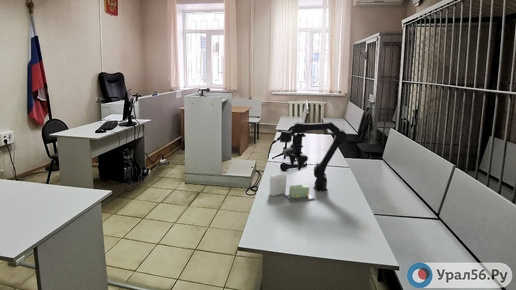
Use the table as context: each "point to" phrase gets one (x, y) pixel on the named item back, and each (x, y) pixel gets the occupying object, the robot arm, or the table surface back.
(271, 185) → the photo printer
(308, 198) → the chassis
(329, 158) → the robot arm
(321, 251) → the table surface
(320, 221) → the table surface
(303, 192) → the block
